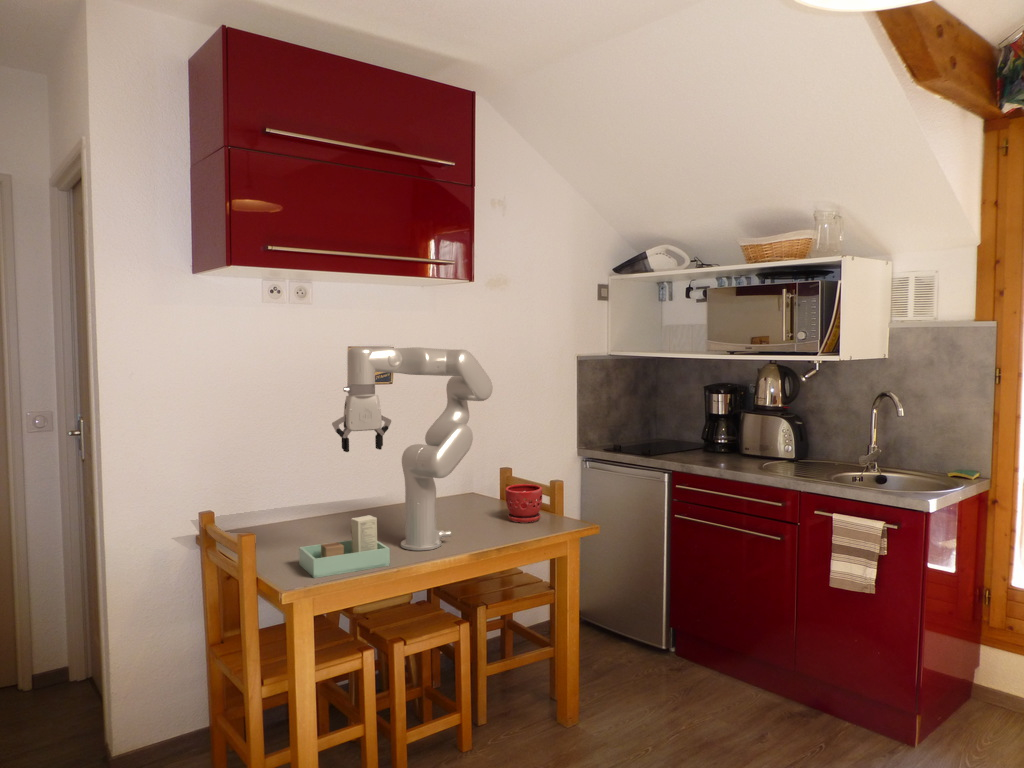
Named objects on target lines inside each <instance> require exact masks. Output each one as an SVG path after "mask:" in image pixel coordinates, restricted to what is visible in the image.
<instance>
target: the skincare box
mask: <svg viewBox="0 0 1024 768" xmlns="http://www.w3.org/2000/svg"><path fill="white" fill-rule="evenodd" d="M350 523H351V526H350V527H351V540H352V553H356V552H363V551H369V550H376V549H377V541H378V518H377V517H375V516H373V515H370V514H368V515H363V516H358V517H352V518H351V522H350Z"/></svg>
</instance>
